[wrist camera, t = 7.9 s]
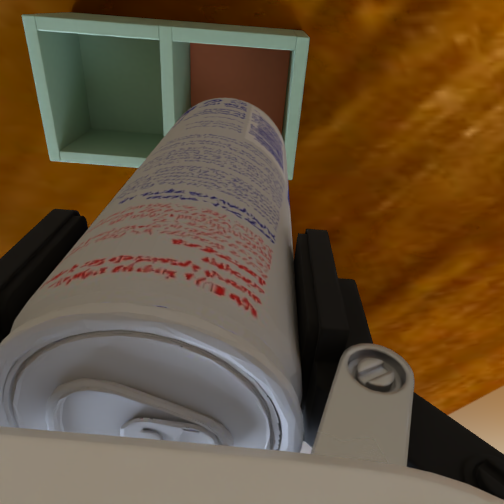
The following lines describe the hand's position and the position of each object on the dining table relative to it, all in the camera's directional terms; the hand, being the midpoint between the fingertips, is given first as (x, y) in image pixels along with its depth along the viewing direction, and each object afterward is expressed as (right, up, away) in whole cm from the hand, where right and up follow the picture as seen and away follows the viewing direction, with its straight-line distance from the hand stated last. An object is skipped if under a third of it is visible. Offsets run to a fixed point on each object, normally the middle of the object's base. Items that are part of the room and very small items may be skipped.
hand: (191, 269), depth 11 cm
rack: (-4, +14, +21) cm, 26 cm away
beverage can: (0, +5, +9) cm, 10 cm away
